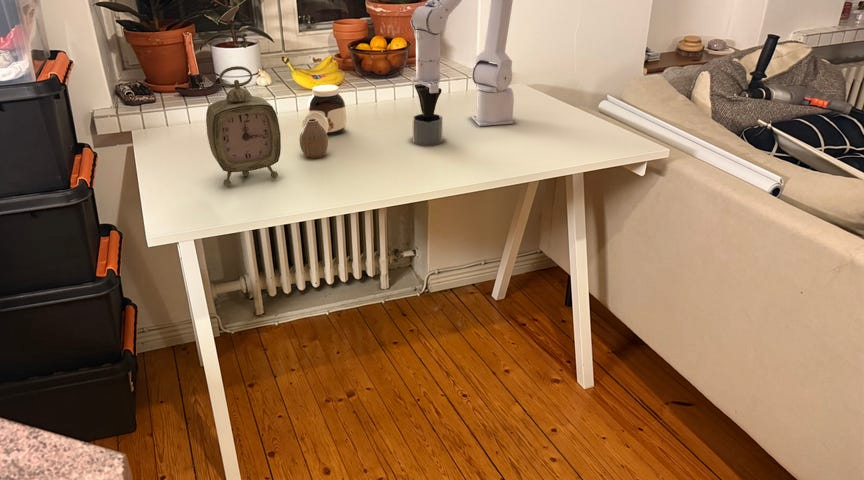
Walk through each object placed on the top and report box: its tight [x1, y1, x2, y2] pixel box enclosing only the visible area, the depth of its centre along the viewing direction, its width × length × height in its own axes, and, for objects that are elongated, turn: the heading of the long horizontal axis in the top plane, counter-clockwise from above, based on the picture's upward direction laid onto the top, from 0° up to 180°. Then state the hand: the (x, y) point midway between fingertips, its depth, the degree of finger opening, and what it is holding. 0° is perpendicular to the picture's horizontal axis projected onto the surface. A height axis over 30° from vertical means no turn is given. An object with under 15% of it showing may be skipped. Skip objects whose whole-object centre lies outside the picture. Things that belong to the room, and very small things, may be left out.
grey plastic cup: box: [412, 113, 444, 147], centre depth 176 cm, size 7×7×6 cm
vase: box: [298, 119, 329, 159], centre depth 168 cm, size 7×7×9 cm
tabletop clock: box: [205, 65, 282, 188], centre depth 152 cm, size 14×9×25 cm, turn 114°
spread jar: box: [301, 84, 347, 137], centre depth 182 cm, size 12×11×12 cm
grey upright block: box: [423, 112, 432, 122], centre depth 174 cm, size 2×2×6 cm
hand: (427, 114), depth 175 cm, fingers closed on grey upright block, 2 cm apart
